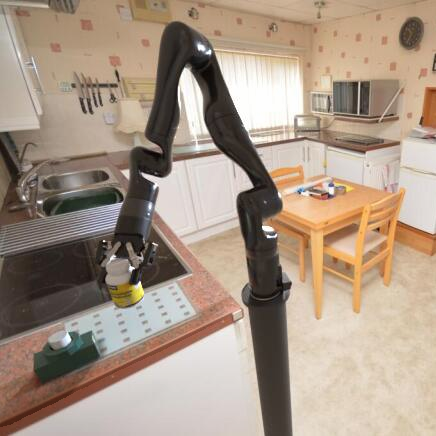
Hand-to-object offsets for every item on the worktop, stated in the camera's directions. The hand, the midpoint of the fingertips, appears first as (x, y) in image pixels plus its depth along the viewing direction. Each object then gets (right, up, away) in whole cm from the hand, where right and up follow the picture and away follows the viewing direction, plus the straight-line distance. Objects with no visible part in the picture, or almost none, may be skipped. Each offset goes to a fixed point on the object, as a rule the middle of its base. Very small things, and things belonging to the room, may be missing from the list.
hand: (118, 284), depth 70 cm
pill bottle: (0, -6, +5) cm, 7 cm away
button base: (-7, -16, -5) cm, 18 cm away
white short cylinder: (-7, -11, -8) cm, 15 cm away
